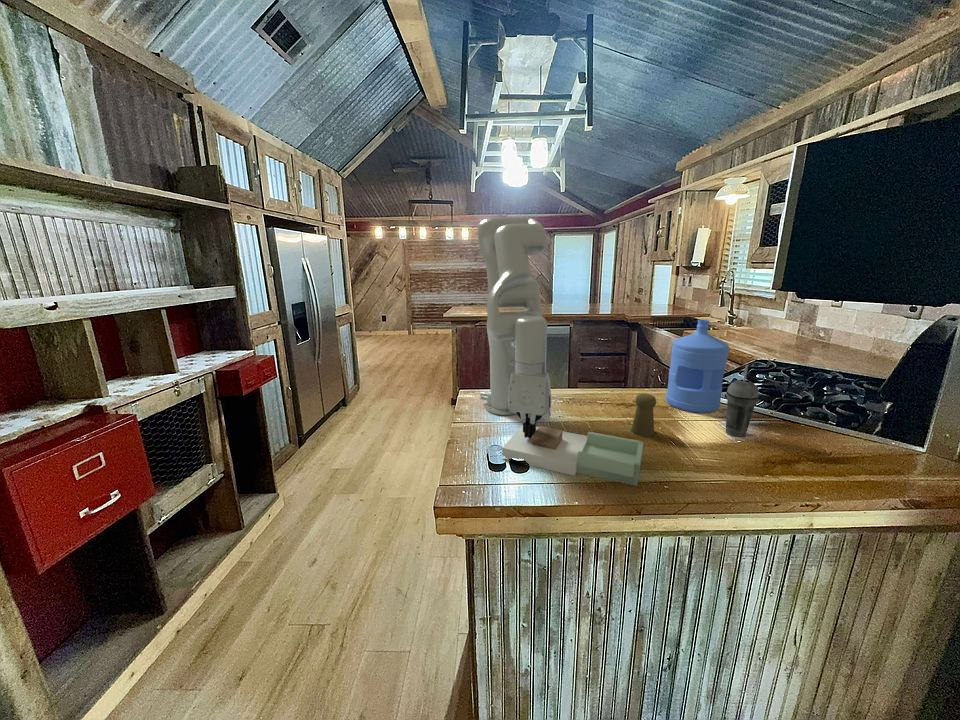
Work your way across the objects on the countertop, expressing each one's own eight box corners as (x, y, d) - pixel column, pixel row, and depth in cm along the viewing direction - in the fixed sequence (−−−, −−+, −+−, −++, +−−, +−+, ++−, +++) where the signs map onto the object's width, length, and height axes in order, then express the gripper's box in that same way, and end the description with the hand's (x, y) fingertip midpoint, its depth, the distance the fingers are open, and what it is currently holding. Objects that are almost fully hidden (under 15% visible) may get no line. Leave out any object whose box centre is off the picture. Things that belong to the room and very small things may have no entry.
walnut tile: (532, 444, 94) (532, 435, 93) (539, 434, 99) (539, 425, 99) (555, 449, 91) (555, 440, 91) (562, 439, 97) (562, 430, 96)
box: (576, 472, 87) (577, 453, 86) (587, 449, 97) (588, 431, 96) (637, 486, 81) (639, 466, 80) (641, 460, 92) (643, 441, 90)
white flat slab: (502, 458, 94) (502, 447, 93) (523, 433, 107) (523, 423, 106) (575, 475, 86) (575, 464, 85) (588, 446, 99) (589, 436, 98)
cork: (629, 434, 105) (633, 397, 102) (632, 425, 110) (635, 390, 107) (653, 438, 102) (657, 400, 100) (655, 429, 108) (659, 393, 105)
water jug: (657, 396, 133) (666, 316, 125) (703, 395, 132) (715, 316, 125) (678, 414, 118) (690, 325, 110) (730, 413, 117) (745, 324, 110)
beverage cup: (753, 433, 104) (767, 363, 99) (748, 442, 99) (762, 369, 94) (723, 425, 109) (734, 358, 104) (717, 434, 104) (728, 364, 99)
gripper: (496, 367, 92) (496, 436, 97) (555, 375, 86) (553, 448, 91) (508, 360, 99) (508, 424, 104) (564, 366, 92) (561, 435, 97)
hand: (529, 435), depth 97 cm, fingers closed
